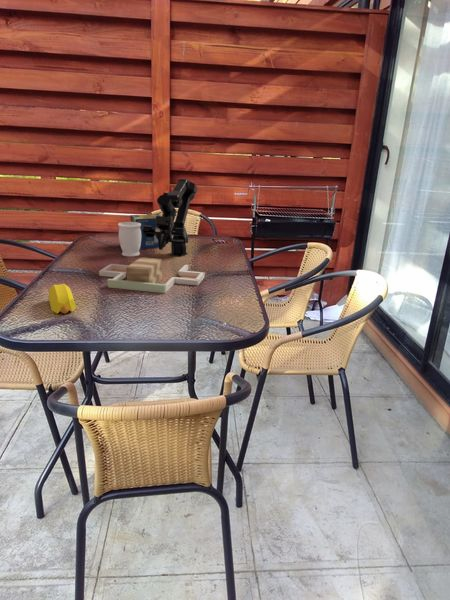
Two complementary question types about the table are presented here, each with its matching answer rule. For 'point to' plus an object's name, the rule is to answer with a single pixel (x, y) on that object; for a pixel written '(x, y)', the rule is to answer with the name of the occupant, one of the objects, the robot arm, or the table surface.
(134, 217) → the protein box
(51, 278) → the table surface
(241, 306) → the table surface
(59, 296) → the yellow arch block
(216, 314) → the table surface
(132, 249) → the jar
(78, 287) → the table surface
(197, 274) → the white flat frame
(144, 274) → the oak block
